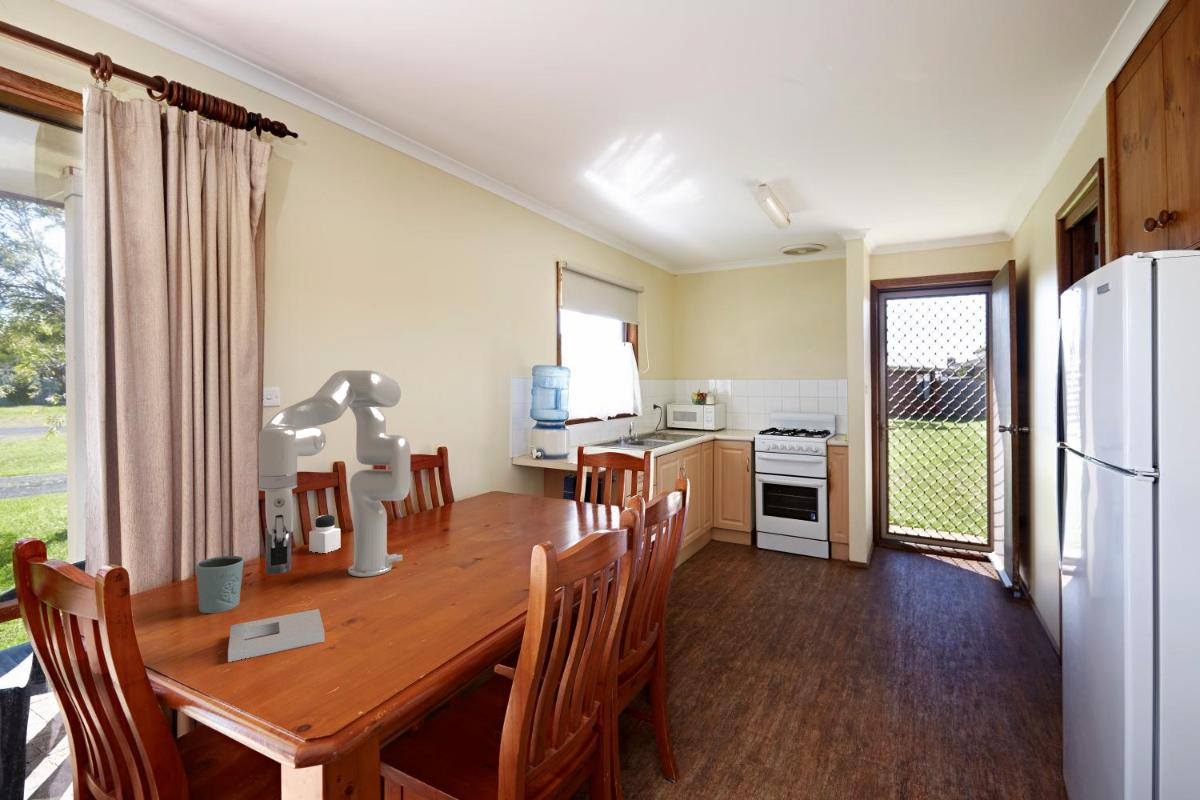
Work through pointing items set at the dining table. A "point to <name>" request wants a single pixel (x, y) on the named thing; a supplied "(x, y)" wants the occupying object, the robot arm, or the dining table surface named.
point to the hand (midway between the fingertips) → (278, 560)
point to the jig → (291, 634)
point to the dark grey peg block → (270, 569)
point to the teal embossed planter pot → (219, 583)
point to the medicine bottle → (325, 535)
